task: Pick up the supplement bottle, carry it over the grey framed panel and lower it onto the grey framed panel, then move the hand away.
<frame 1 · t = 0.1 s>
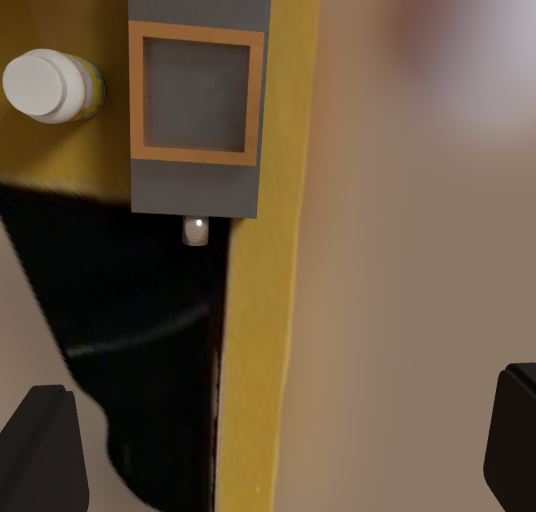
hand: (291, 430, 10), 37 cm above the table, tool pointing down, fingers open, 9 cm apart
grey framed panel: (200, 97, 43), on the table
supplement bottle: (75, 88, 42), on the table
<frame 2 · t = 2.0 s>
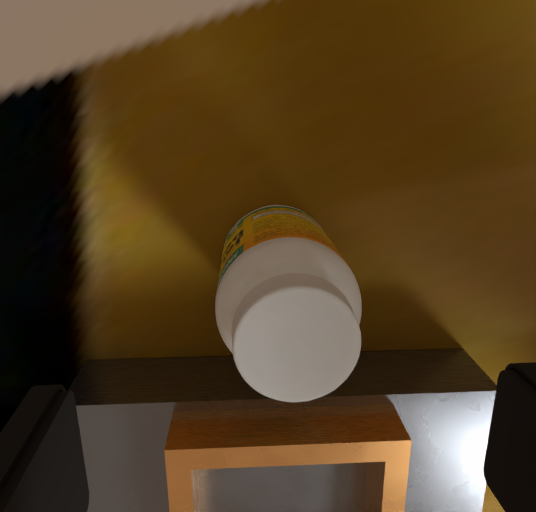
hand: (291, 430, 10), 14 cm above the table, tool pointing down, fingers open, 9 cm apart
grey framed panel: (277, 441, 27), on the table
supplement bottle: (276, 254, 24), on the table
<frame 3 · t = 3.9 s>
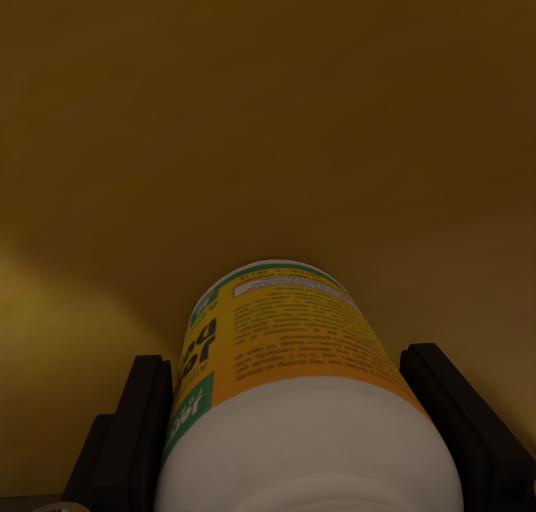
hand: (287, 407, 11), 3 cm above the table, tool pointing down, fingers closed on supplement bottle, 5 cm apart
supplement bottle: (274, 333, 15), on the table, touching gripper
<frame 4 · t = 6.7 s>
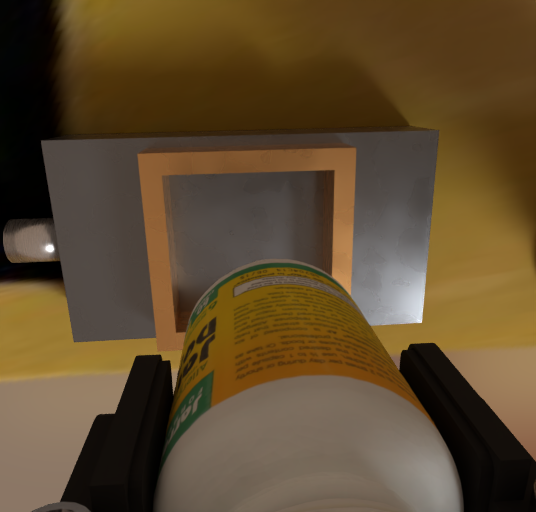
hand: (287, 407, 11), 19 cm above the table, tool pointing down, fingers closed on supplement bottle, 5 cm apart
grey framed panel: (246, 222, 30), on the table
supplement bottle: (274, 333, 15), point 16 cm above the table, touching gripper
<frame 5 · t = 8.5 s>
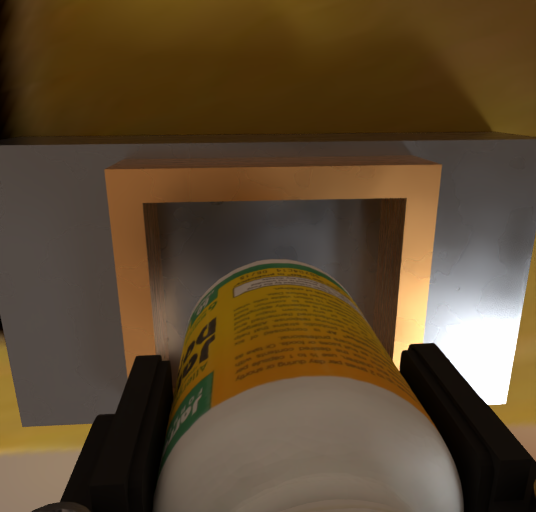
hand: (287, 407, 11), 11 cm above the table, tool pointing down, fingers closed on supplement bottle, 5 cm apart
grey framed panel: (264, 258, 22), on the table
supplement bottle: (273, 333, 15), point 7 cm above the table, touching gripper
when the fingers open (9 cm above the table, at t = 9.8 s): supplement bottle drops 1 cm, resting on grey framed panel.
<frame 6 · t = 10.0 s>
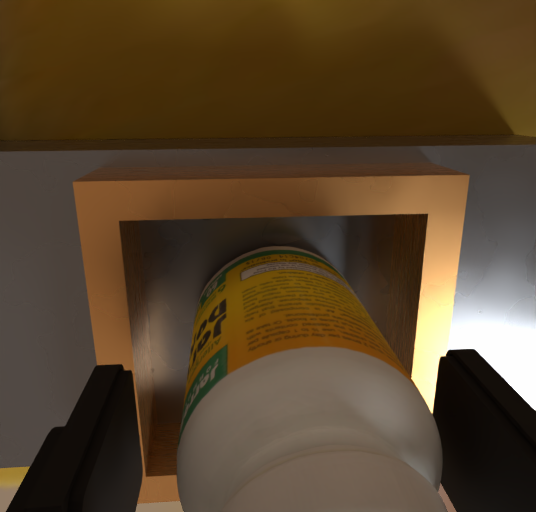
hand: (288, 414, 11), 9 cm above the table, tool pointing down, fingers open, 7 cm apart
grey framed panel: (262, 274, 20), on the table
supplement bottle: (275, 314, 16), point 4 cm above the table, touching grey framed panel
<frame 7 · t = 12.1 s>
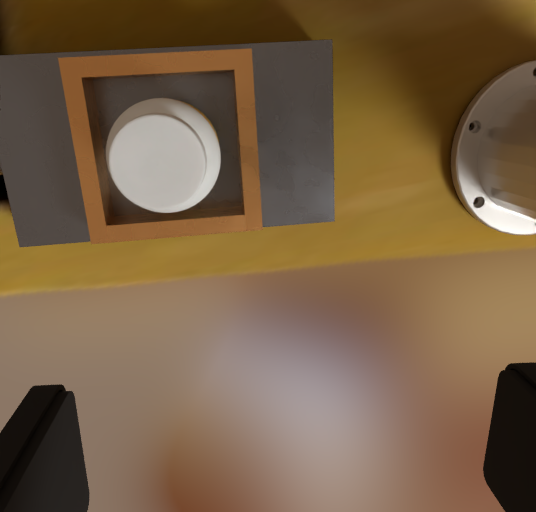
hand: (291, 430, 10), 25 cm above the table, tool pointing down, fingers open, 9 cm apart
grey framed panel: (176, 141, 33), on the table
supplement bottle: (175, 145, 29), point 4 cm above the table, touching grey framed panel
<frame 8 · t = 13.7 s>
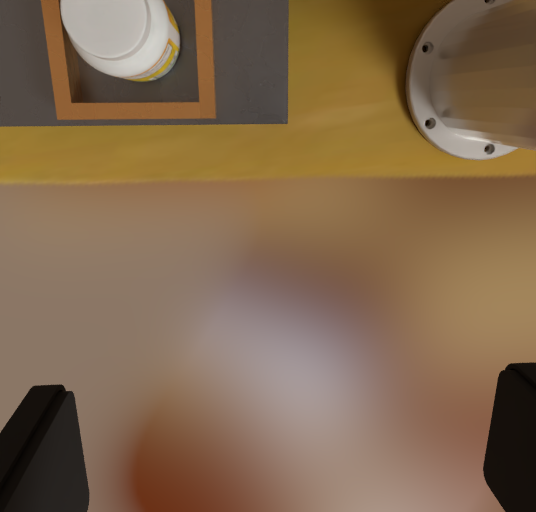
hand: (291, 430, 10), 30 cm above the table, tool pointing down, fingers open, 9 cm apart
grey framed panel: (147, 45, 35), on the table
supplement bottle: (140, 38, 32), point 4 cm above the table, touching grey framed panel
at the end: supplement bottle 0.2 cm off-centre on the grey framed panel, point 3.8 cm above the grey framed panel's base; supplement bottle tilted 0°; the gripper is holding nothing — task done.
